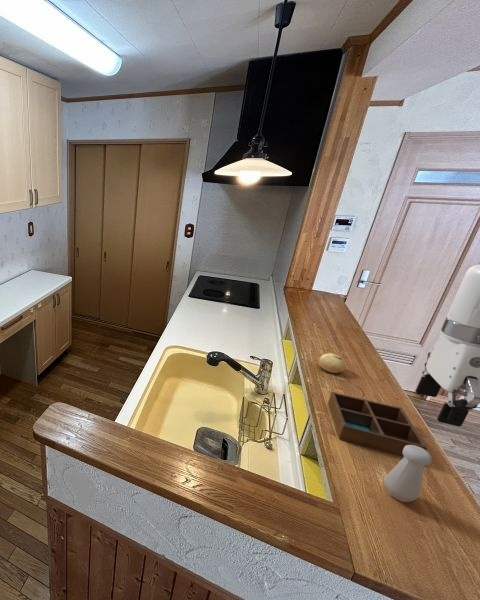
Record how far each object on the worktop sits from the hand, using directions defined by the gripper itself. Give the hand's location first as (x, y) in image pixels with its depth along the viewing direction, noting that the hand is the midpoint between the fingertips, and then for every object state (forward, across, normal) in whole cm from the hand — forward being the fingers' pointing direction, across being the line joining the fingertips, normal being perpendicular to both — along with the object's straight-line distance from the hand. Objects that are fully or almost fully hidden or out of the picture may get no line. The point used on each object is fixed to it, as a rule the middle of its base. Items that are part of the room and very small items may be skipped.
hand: (436, 408), depth 65 cm
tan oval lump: (+24, +56, +3) cm, 61 cm away
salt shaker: (+24, 0, -1) cm, 24 cm away
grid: (+24, +23, -1) cm, 33 cm away
